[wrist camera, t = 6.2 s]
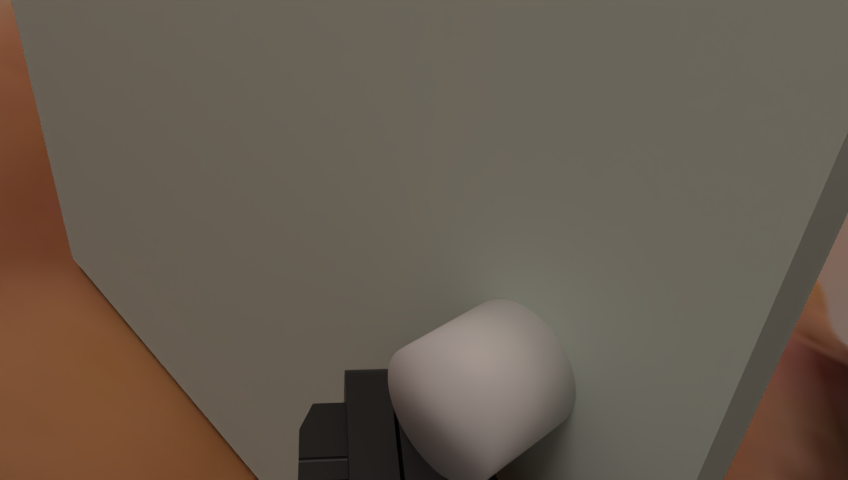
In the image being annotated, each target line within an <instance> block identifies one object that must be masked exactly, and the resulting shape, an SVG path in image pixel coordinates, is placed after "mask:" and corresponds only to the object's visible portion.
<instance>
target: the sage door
mask: <svg viewBox="0 0 848 480" xmlns="http://www.w3.org/2000/svg"><path fill="white" fill-rule="evenodd" d="M11 1H12V5H13V9H14V13H15V18H16V22H17V26H18V30H19V35H20V39H21V43H22V47H23V51H24V56H25V60H26V64H27V68H28V72H29V77H30V81H31V85H32V89H33V94H34V98H35V102H36V106H37V110H38V115H39V119H40V123H41V127H42V131H43V136H44V140H45V144H46V148H47V152H48V157H49V161H50V165H51V169H52V174H53V178H54V182H55V186H56V190H57V195H58V199H59V203H60V207H61V211H62V216H63V220H64V224H65V228H66V233H67V237H68V241H69V245H70V249H71V254H72V258H73V259H74V260H75V261H76V263H77V264H78V265H79V266H80V267H81V269H82V270H83V271H84V272H85V273H86V275H87V276H88V277H89V278H90V279H91V280H92V282H93V283H94V284H95V285H96V286H97V288H98V289H99V290H100V291H101V292H102V294H103V295H104V296H105V297H106V298H107V300H108V301H109V302H110V303H111V304H112V305H113V307H114V308H115V309H116V310H117V311H118V313H119V314H120V315H121V316H122V317H123V319H124V320H125V321H126V322H127V323H128V325H129V326H130V327H131V328H132V329H133V330H134V332H135V333H136V334H137V335H138V336H139V338H140V339H141V340H142V341H143V342H144V344H145V345H146V346H147V347H148V348H149V349H150V351H151V352H152V353H153V354H154V355H155V357H156V358H157V359H158V360H159V361H160V363H161V364H162V365H163V366H164V367H165V369H166V370H167V371H168V372H169V373H170V374H171V376H172V377H173V378H174V379H175V380H176V382H177V383H178V384H179V385H180V386H181V388H182V389H183V390H184V391H185V392H186V394H187V395H188V396H189V397H190V398H191V399H192V401H193V402H194V403H195V404H196V405H197V407H198V408H199V409H200V410H201V411H202V413H203V414H204V415H205V416H206V417H207V418H208V420H209V421H210V422H211V423H212V424H213V426H214V427H215V428H216V429H217V430H218V432H219V433H220V434H221V435H222V436H223V438H224V439H225V440H226V441H227V442H228V443H229V445H230V446H231V447H232V448H233V449H234V451H235V452H236V453H237V454H238V455H239V457H240V458H241V459H242V460H243V461H244V463H245V464H246V465H247V466H248V467H249V468H250V470H251V471H252V472H253V473H254V474H255V476H256V477H257V478H258V479H259V480H298V463H299V429H300V427H301V425H302V423H303V421H304V419H305V417H306V416H307V414H308V412H309V410H310V408H311V406H312V404H313V403H343V402H344V372H345V370H363V369H388V387H389V393H390V398H391V401H392V405H393V408H394V410H395V413H396V416H397V418H398V420H399V422H400V424H401V426H402V428H403V430H404V432H405V434H406V435H407V437H408V439H409V440H410V442H411V443H412V445H413V446H414V448H415V449H416V450H417V452H418V453H419V454H420V455H421V456H422V458H423V459H424V460H425V461H426V462H427V463H428V464H429V465H430V466H431V467H432V468H433V469H434V470H436V471H437V472H438V473H439V474H441V475H442V476H443V477H445V478H446V479H448V480H487V479H489V478H490V477H491V476H493V475H494V474H495V473H496V477H497V478H498V480H724V478H725V475H726V473H727V471H728V469H729V467H730V465H731V463H732V460H733V458H734V456H735V454H736V452H737V450H738V448H739V445H740V443H741V441H742V439H743V437H744V435H745V433H746V430H747V428H748V426H749V424H750V422H751V420H752V418H753V415H754V413H755V411H756V409H757V407H758V405H759V403H760V400H761V398H762V396H763V394H764V392H765V390H766V388H767V385H768V383H769V381H770V379H771V377H772V375H773V372H774V370H775V368H776V366H777V364H778V362H779V360H780V357H781V355H782V353H783V351H784V349H785V347H786V345H787V342H788V340H789V338H790V336H791V334H792V332H793V330H794V327H795V325H796V323H797V321H798V319H799V317H800V315H801V312H802V310H803V308H804V306H805V304H806V302H807V300H808V297H809V295H810V293H811V291H812V289H813V287H814V285H815V282H816V280H817V278H818V276H819V274H820V272H821V270H822V267H823V265H824V263H825V261H826V259H827V257H828V255H829V252H830V250H831V248H832V246H833V244H834V242H835V239H836V237H837V235H838V233H839V231H840V229H841V227H842V224H843V222H844V220H845V218H846V216H847V214H848V0H11Z"/></svg>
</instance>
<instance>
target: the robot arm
mask: <svg viewBox="0 0 848 480" xmlns="http://www.w3.org/2000/svg"><path fill="white" fill-rule="evenodd" d="M298 480H448V479H446V478H445V477H443V476H442V475H441V474H439V473H438V472H437V471H436V470H434V469H433V468H432V467H431V466H430V465H429V464H428V463H427V462H426V461H425V460H424V459H423V458H422V456H421V455H420V454H419V453H418V452H417V450H416V449H415V448H414V446H413V445H412V443H411V442H410V440H409V439H408V437H407V435H406V434H405V432H404V430H403V428H402V426H401V424H400V422H399V420H398V418H397V416H396V413H395V410H394V408H393V405H392V401H391V398H390V393H389V387H388V369H363V370H345V372H344V402H343V403H313V404H312V406H311V408H310V410H309V412H308V414H307V416H306V417H305V419H304V421H303V423H302V425H301V427H300V429H299V463H298ZM487 480H498V478H497V477H496V473H495V474H494V475H493V476H491V477H490V478H489V479H487Z"/></svg>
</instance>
